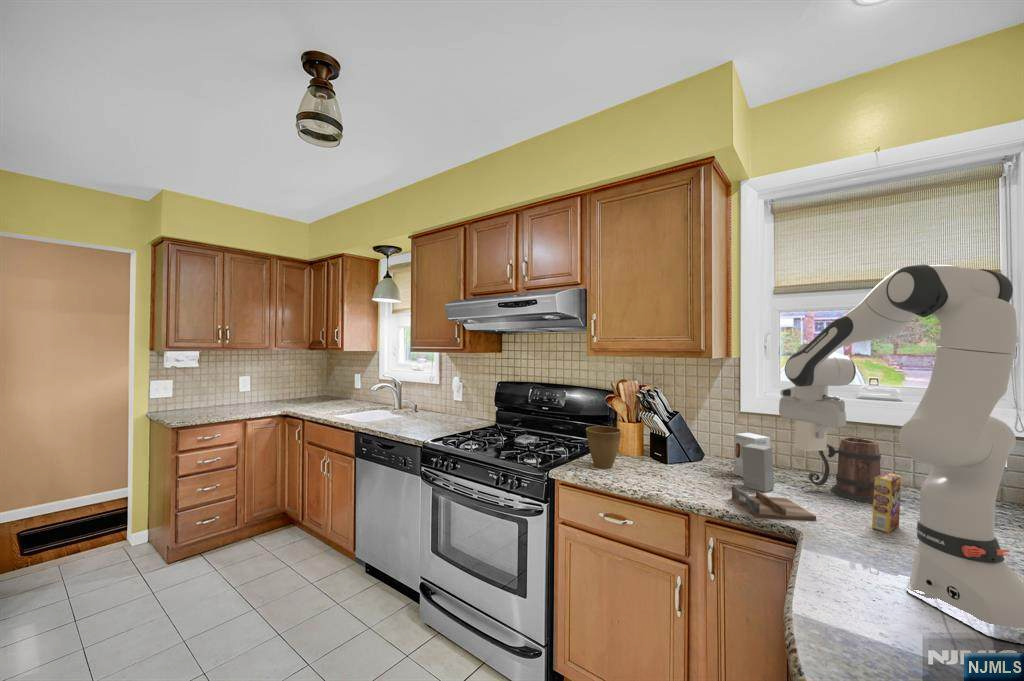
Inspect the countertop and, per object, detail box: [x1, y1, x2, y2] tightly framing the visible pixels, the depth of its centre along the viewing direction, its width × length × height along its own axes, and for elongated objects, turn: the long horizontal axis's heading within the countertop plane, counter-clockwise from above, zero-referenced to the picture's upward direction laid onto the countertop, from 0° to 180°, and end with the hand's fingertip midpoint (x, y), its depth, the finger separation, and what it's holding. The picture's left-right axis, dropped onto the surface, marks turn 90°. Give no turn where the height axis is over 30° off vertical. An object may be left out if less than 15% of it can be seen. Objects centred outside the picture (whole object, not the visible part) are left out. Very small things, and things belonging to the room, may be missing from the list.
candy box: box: [871, 472, 902, 534], centre depth 126 cm, size 9×4×15 cm, turn 123°
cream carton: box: [794, 420, 828, 452], centre depth 138 cm, size 5×8×9 cm, turn 107°
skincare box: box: [742, 444, 775, 493], centre depth 160 cm, size 8×7×16 cm
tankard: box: [808, 436, 882, 505], centre depth 155 cm, size 24×17×20 cm
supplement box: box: [733, 432, 771, 478], centre depth 174 cm, size 10×9×17 cm
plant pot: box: [585, 425, 622, 470], centre depth 184 cm, size 15×15×16 cm
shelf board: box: [731, 485, 817, 521], centre depth 139 cm, size 16×18×4 cm
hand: (810, 436), depth 138 cm, fingers closed on cream carton, 5 cm apart
